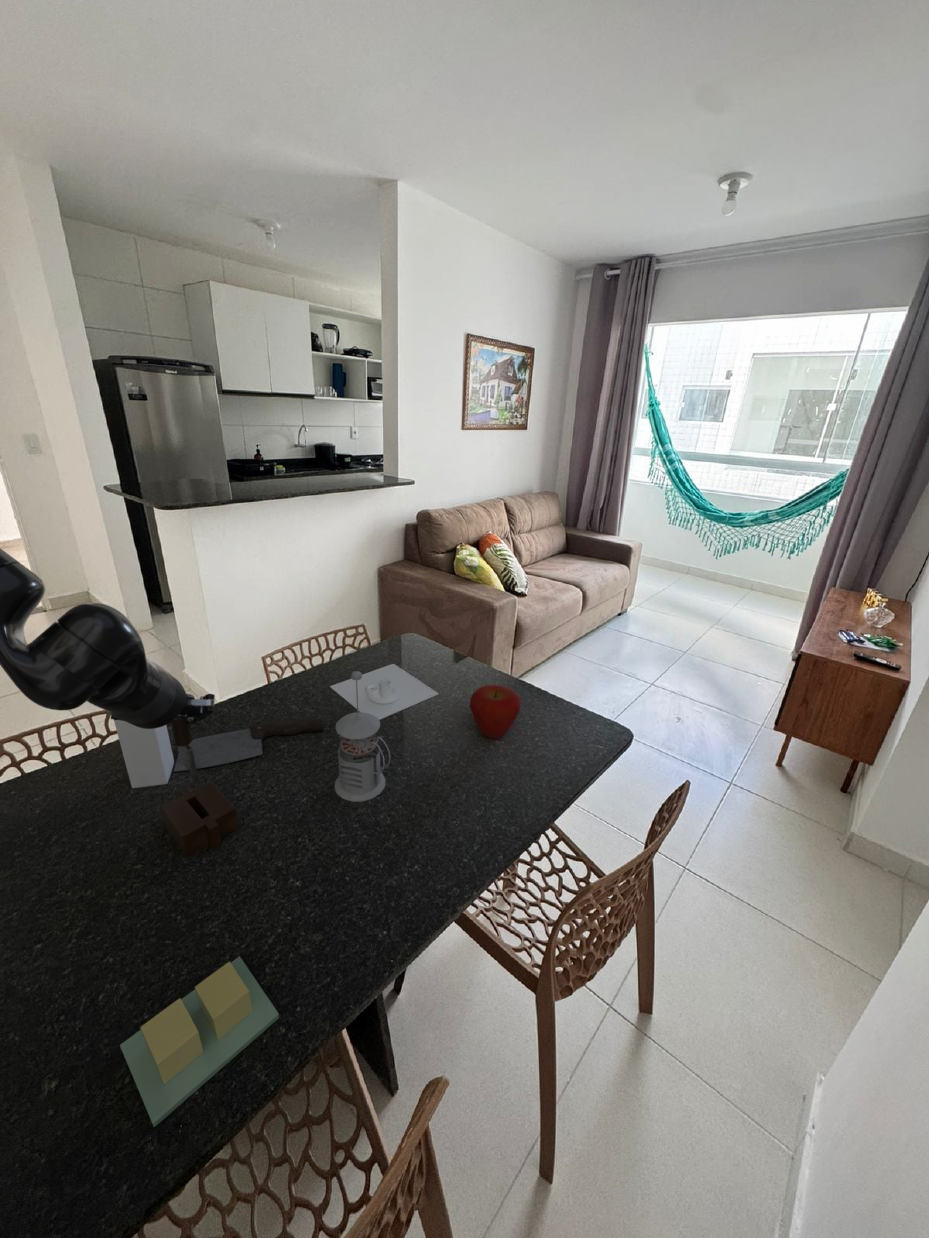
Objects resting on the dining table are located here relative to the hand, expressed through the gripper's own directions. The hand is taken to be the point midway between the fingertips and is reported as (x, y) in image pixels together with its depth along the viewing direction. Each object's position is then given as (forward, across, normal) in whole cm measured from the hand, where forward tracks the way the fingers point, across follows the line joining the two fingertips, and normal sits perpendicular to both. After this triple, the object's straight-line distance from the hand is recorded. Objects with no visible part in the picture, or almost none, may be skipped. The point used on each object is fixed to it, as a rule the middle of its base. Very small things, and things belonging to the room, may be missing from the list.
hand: (183, 718), depth 80 cm
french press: (+19, -28, +12) cm, 35 cm away
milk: (+25, +12, +6) cm, 28 cm away
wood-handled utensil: (+4, 0, +7) cm, 8 cm away
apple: (+27, -57, +3) cm, 63 cm away
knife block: (+14, 0, +16) cm, 22 cm away
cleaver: (+30, -5, +1) cm, 31 cm away
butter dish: (-9, -7, +39) cm, 41 cm away
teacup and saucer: (+43, -34, -12) cm, 56 cm away
